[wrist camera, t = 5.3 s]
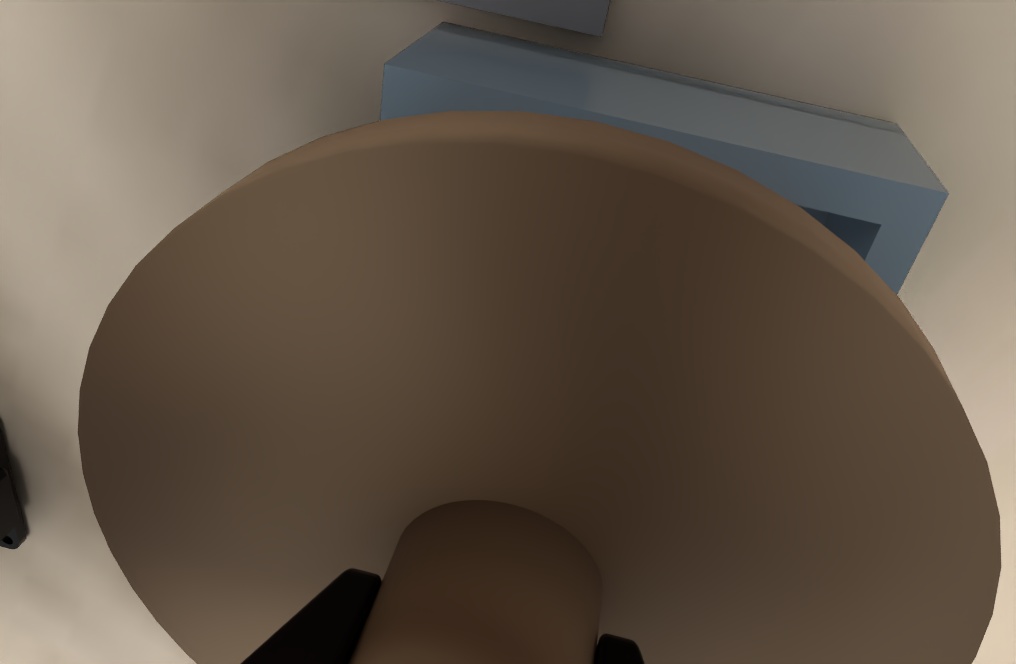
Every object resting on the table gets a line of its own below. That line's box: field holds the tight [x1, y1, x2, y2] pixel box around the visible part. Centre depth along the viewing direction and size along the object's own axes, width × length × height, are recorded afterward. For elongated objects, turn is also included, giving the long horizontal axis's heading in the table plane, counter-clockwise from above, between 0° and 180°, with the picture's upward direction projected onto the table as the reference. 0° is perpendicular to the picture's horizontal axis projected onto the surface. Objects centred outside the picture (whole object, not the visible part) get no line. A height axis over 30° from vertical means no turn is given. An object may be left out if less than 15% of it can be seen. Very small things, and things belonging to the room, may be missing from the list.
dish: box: [380, 22, 949, 295], centre depth 18 cm, size 10×10×4 cm
